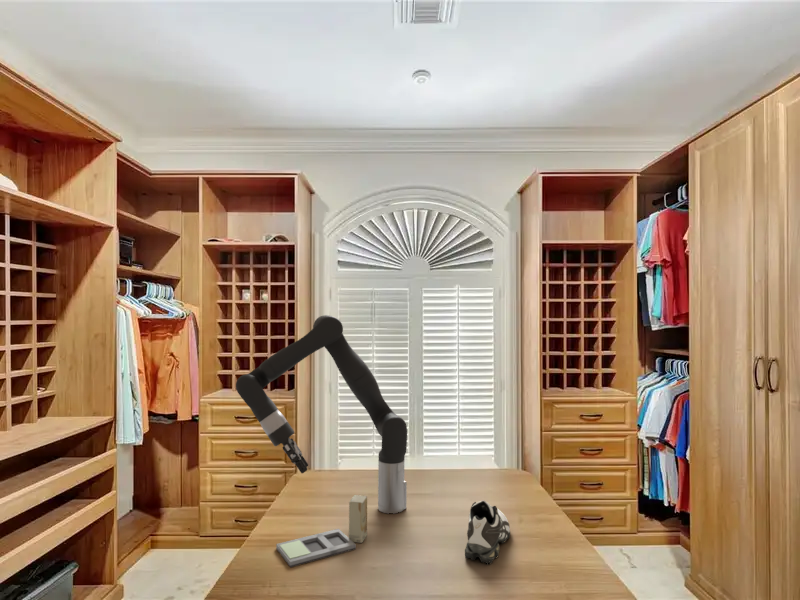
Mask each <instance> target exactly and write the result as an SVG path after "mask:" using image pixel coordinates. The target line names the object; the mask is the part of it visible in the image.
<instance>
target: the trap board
mask: <svg viewBox="0 0 800 600" xmlns="http://www.w3.org/2000/svg"><path fill="white" fill-rule="evenodd" d="M356 545H357V544H356V542H353V541H352V540H350V539H349V536H347V535H346V534H345V533H344V532H343V531H342V530H341V529H340V528H335V529H331V530H326V531H324V532H319V533H316V534H312V535H307V536H303V537H299V538H296V539H291V540H287V541H283V542H279V543H276V546H275V547H276V548H275V549H276V551H277V553H279V554H281V555H280V557H282V559H283V560H284V562H285V563H286V562H287V563H286V564H287V565H288V566H290V567H289V568H292V567H297V566H300V564H301V565H304V563H305V564H307V563H311V562H316V561H319V560H322V559H325V558H329V557H334V556H337V555H341V554H344V553H347V552H352V551H354V550H356V548H357V547H356Z"/></svg>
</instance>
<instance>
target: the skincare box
mask: <svg viewBox="0 0 800 600" xmlns="http://www.w3.org/2000/svg"><path fill="white" fill-rule="evenodd" d="M348 503H349V505H348V538H349V539H350V540H352V541H353V542H354V543H359V544H361V543H363V542H364V541H365V539H366V537H367V534H368V495H363V494H362V495H360V494H354V495H353V496H352V497H351V499H350V500H349V502H348Z"/></svg>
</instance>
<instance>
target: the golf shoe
mask: <svg viewBox="0 0 800 600" xmlns="http://www.w3.org/2000/svg"><path fill="white" fill-rule="evenodd" d="M466 535H467V542H466V544H465V545H466V546H465V549H464V557H465V559H466V560H467V559H468V560H469V558H470V559H471V561H475V560H476V559H477V558H479V559H480V562H481V563H483V562H484V563H485V564H486V563H487V565H488V564H490V563H492V564H493V561H494V560H495V559H496V558H495V557H497V556H498V557H499V553H500V544H504V543H505V542H504V541H507V540H509V539H510V537H511V527H510V523H509V521H508V519H507V517H506V515H505V514H504V513H503V512H502V511H501V510H500V509H499V508H498V507H497V505H493V506H492V505H491V504H489V502H488V501H486V500H483V499H482V500H480V501H477V502H476V501H474V502H473V503H472V505H471V506H470V511H469V514H468V527H467V533H466Z"/></svg>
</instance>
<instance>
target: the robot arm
mask: <svg viewBox="0 0 800 600" xmlns="http://www.w3.org/2000/svg"><path fill="white" fill-rule="evenodd" d="M322 348H325V349H326V351H327V352H328V353H329V355H330V356H331V358H332V360H333V362H334V363H335V365H336V367H337V369H338V371H339V373H340V375H341V376H342V378H343V380H344V381H345V383H346V384H347V386H348V387H349V389H350V390H351V392H352V393H353V395H354V396H355V398H356V399H357V400H358V402H359V403H360V404H361V405H362V406H363V408H364V409H365V410H366V412H367V413H368V415H369V417H370V419H371V421H372V424H373V426H374V427H375V429H376V431H377V433H378V434H379V436H380V437H381V450H379V452H378V464H377V465H378V467H377V469H378V471H377V472H378V473H377V474H378V475H377V477H378V480H377V481H378V482H377V483H378V484H377V485H378V486H377V489H378V490H377V493H378V494H377V496H378V497H377V509H378V510H379V512H381V513H383V514H384V513H385V514H389V513H393V514H398V512H399V513H401V512H403V511H404V510H406V509H407V500H408V499H407V497H408V496H407V493H408V492H407V489H408V488H407V485H408V484H407V481H406V480H405V457H406V453H407V446H408V427H407V423H406V421H405V420H404V418H402V417H401V416H399V415H398V414H396V413H395V412H394V411H393V410H392V409H391V407H390V406H389V405H388V403H387V402H386V401H385V398H384V397H383V395H382V392H381V389H380V386H379V384H378V382H377V380H376V378H375V376H374V375H373V372H371V370H370V368H369V367H368V365H367V364H366V363H365V361H364V360H363V359H362V358H361V357H360V355H359V354H358V353H357V352H356V351H355V350H354V349H353V348H352V346H351V345H350V344H349V342H348V341H347V339H346V337H345V336H344V326H343V323H342V321H340V319H339V318H337V317H335V316H333V315H328V314H325V315H320V316H318V317H317V318H316V319H315V320H314V323H313V326H312V329H311V330H309V331H308V333H306V334H305V335H304V336H302V337H301V338H299V339H298V340H296V341H294V342H293V343H290V344H289V345H287V346H284V347H283V348H282V349H280V350H278V351H277V352H275V353H273V355H271V356H269V357H268V358H267V359H265V360H264V361H263V362H261V364H259V366H258V367H257V368H255V369H253V370H252V371H250V372H249V373H247V374H243V375H241V376H239V377H238V378H237V380H236V382H235V390H236V392H237V393H238V395H239V396H240V397H241V398H242V401H244V402H245V404H246V405H247V406H248V407H249V408H250V410H251V413H252V414H253V415H254V417H255V418H256V420H257V421H258V423H259V424H260V426H261V428H262V430H263V431H264V433H265V435H267V437H268V439H269V441H270V442H271V444H273V446H274V447H277V446H279V445H280V444H281V445H282V450H283V452H284V453H285V454H286V455H287V457H288V459H289V460H290V461H291V463H292V464H294V465H295V466H296V467H297V469H298V470H299V472H300V473H301V474H304V473H305V472H307V471H308V467H309V463H308V462H307V460H306V459H305V457H304V456H303V453H302V452H303V451H302V450H301V448H300V447H299V446H298V444H297V442H296V441H295V440H294V439H293V437H292V438H290V437H291V436H293V435H294V434H295V430H294V428H292V426H291V425H290V423H289V421H288V420H287V419H286V416H285V415H284V414H283V413H282V412H281V411H280V410H279V409H278V407H277V406H276V404H275V402H274V401H273V400H272V399H271V398H270V396H268V395H267V393H266V392H265V390H264V388H265V387H267V386H268V385H269V384H270V383H271V382H273V381H275V380H276V379H278V378H279V377H281V376H282V375H284V374H285V373H287V372H288V371H290V369H292V368H294V366H296V365H298V364H299V363H301V361H303V360H304V359H306V358H308V357H309V356H310V355H312V354H313V353H315V352H317V351H319V350H321V349H322Z"/></svg>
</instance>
